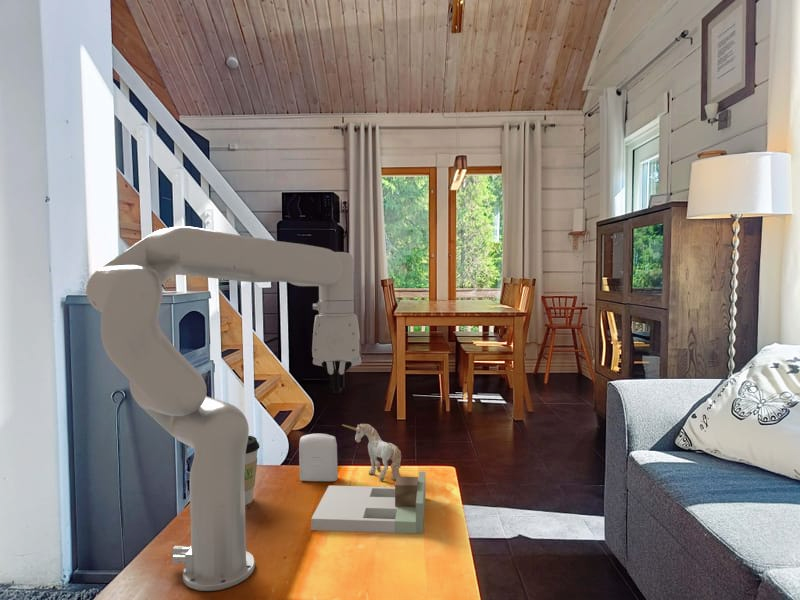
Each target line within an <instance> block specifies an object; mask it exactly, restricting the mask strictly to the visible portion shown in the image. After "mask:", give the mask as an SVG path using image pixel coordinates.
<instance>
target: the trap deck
mask: <svg viewBox="0 0 800 600" xmlns="http://www.w3.org/2000/svg"><path fill="white" fill-rule="evenodd" d="M425 509H426V471H419V472H418V488H417V497H416V507H395V486H365V485H364V486H362V485H361V486H359V485H331V484H330V485H328V486H327V487H326V490H325V492H324V494H323V496H322V498H321V499H320V501H319V503H318V505H317V507H316V509H315V510H314V513H313V514H312V517H311V519H310V520H311V522H310V523H311V524H310V529H311V531H330V532H333V531H335V532H356V531H357V533H359V532H362V533H363V532H364V533H388V534H389V533H391V534H394V533H396V534H420V535H421V534H422V535H423V534H424V524H425V523H424V522H425V511H426V510H425Z"/></svg>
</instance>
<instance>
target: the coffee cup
mask: <svg viewBox="0 0 800 600" xmlns="http://www.w3.org/2000/svg"><path fill="white" fill-rule="evenodd" d="M259 449H260V443H259V442H258V441H257V437H255V436H253V435H248V442H247V447H246V454H245V470H244V474H245V505H246V506H247V504H248V505H249V503H250V504H251V503H252V502H253V500H254V489H255V484H256V476H257V475H256V474H257V467H258V450H259Z"/></svg>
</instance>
